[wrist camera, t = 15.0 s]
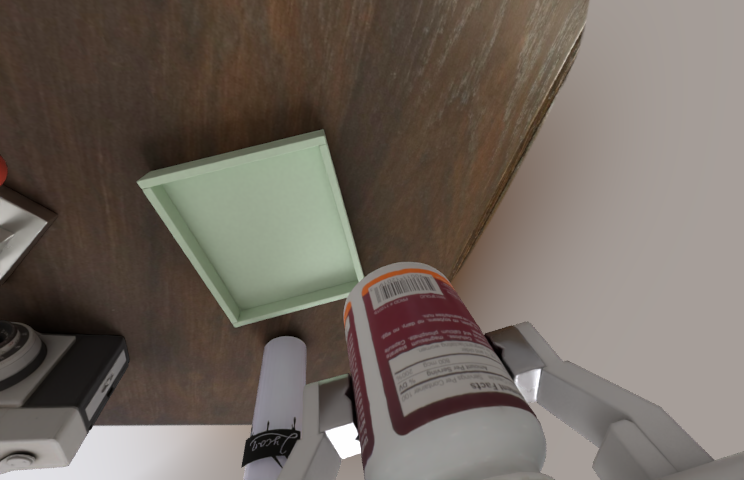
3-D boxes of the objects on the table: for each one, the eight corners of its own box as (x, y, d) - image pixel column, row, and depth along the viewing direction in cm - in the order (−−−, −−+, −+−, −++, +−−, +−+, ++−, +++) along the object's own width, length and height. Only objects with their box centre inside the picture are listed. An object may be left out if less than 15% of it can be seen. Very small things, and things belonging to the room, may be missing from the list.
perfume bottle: (313, 357, 36) (315, 622, 19) (263, 363, 35) (219, 647, 18) (309, 324, 33) (307, 603, 16) (255, 329, 32) (192, 632, 15)
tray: (149, 171, 22) (135, 181, 20) (323, 128, 23) (324, 135, 21) (239, 311, 30) (234, 327, 29) (364, 278, 31) (367, 292, 29)
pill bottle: (407, 353, 14) (499, 634, 7) (321, 324, 12) (334, 668, 5) (473, 284, 13) (673, 558, 6) (387, 238, 11) (529, 567, 4)
